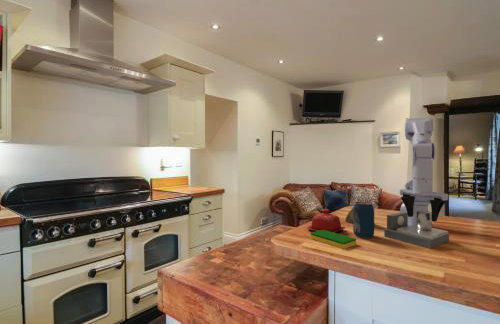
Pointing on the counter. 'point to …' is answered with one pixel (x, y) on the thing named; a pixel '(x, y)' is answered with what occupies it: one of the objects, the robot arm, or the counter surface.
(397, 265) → the counter surface
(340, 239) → the dish sponge
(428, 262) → the counter surface
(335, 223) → the butter dish
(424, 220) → the steel weight
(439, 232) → the scale pan
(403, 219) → the scale
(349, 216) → the rock
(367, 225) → the soda can
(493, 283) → the counter surface
